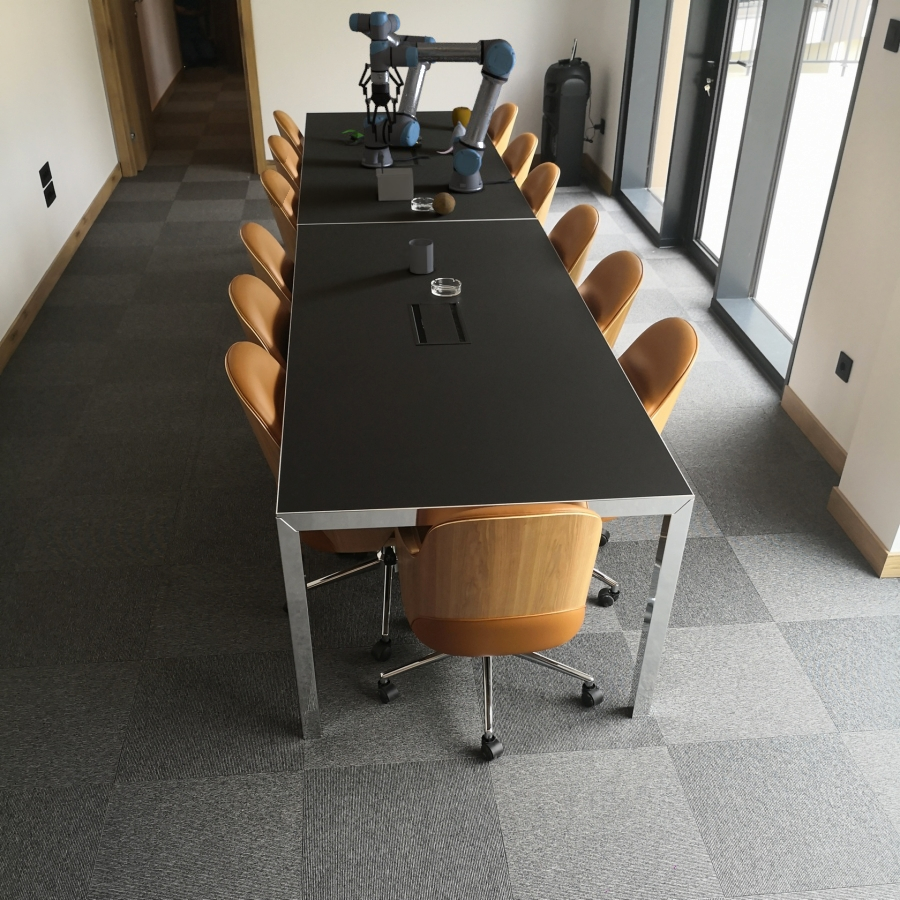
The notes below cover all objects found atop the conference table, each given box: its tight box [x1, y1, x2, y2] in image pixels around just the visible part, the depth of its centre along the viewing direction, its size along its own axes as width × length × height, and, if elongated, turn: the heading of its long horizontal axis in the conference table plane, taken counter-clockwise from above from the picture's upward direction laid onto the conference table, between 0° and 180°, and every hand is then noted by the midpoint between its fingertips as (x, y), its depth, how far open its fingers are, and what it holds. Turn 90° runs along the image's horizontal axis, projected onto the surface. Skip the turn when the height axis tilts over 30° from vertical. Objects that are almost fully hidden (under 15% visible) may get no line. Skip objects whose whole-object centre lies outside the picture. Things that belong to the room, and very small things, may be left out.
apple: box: [451, 105, 472, 129], centre depth 487 cm, size 11×11×13 cm
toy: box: [437, 121, 468, 155], centre depth 440 cm, size 9×24×15 cm, turn 137°
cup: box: [408, 237, 434, 275], centre depth 305 cm, size 8×8×10 cm
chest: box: [377, 175, 414, 202], centre depth 380 cm, size 15×10×10 cm, turn 95°
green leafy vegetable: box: [340, 129, 364, 146], centre depth 465 cm, size 6×13×30 cm
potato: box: [431, 192, 456, 216], centre depth 360 cm, size 10×14×8 cm
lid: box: [375, 150, 414, 178], centre depth 375 cm, size 16×10×9 cm, turn 95°
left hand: (382, 102), depth 390 cm, fingers open, 13 cm apart
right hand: (382, 140), depth 369 cm, fingers open, 5 cm apart
